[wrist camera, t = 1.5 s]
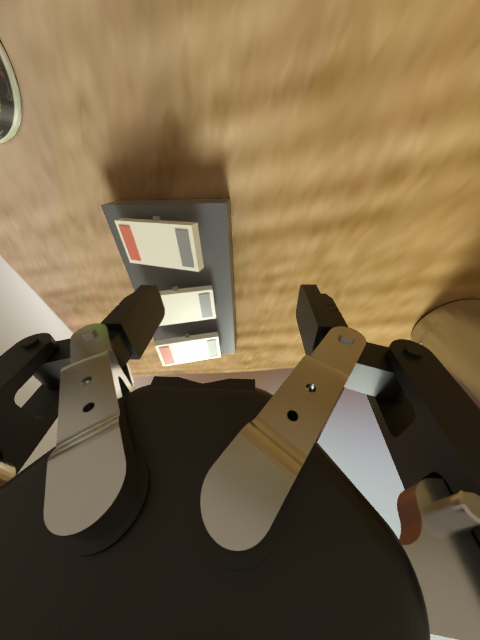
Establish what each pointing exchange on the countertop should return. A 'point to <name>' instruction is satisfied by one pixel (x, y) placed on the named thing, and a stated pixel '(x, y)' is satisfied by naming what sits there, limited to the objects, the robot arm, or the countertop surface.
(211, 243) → the rocker switch panel
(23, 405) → the robot arm
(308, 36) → the countertop surface
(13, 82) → the coffee can
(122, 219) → the rocker
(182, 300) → the rocker
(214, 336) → the rocker
